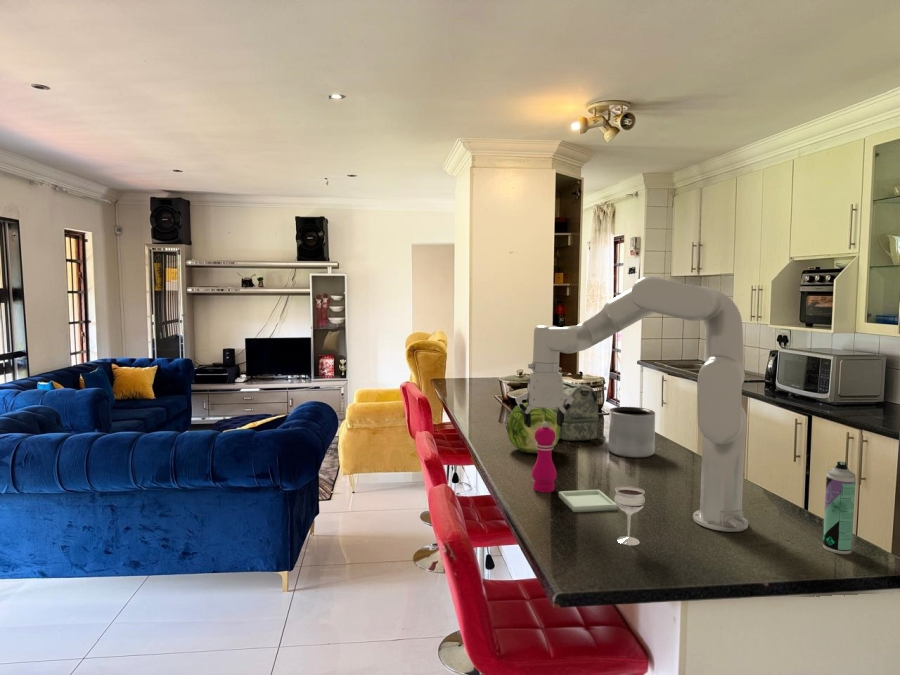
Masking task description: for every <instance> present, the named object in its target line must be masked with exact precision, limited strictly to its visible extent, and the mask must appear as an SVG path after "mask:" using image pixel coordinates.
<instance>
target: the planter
mask: <svg viewBox="0 0 900 675" xmlns="http://www.w3.org/2000/svg"><path fill="white" fill-rule="evenodd" d="M608 414H609V415H608V416H609V418H608V419H609V420H608V421H609V423H608V439H607V440H608V441H607V442H608V443H607V445H608V446H607V447H608V451H609V452H610V453H611V454H614V455H616V456H618V457H619V456H620V457H624V458H632V459H641V458H642V459H643V458H648V457H651V456H653V455H654V454H655V447H656V446H655V445H656V444H655V440H656V439H655V434H656V433H655V432H656V430H655V429H656V427H655V426H656V412H655V411H654V410H652V409H650V408H649V409H648V408H644V407H637V406H636V407H635V406H616V407H611V408H610V409H609V413H608Z"/></svg>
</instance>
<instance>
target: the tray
mask: <svg viewBox="0 0 900 675" xmlns="http://www.w3.org/2000/svg"><path fill="white" fill-rule="evenodd" d="M558 498H559V499H560V500H561V501H562V502H563V503H564V504H565V505H566V506H567V507H568V508H569V509H570V510H571V511H572V512H573V513H583V512H585V513H586V512H588V513H589V512H603V511H617V510H618V506H617V505H616V503H615V501H613V500H612V499H611V498H610V497H608V496H607V495H606V494H605V493H604V492H602V491H601V490H600V489H587V490H586V489H585V490H565V491H558Z"/></svg>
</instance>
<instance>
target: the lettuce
mask: <svg viewBox="0 0 900 675" xmlns="http://www.w3.org/2000/svg"><path fill="white" fill-rule="evenodd" d="M522 403H523V405H524V406H526V404H527V402H522ZM530 414H531V426H530V427H527V426H526V425H525V424H524V412H523V410H522V409H521V408H520V407H519V406H518V404H517V405H515V406H514V408H513V409H512V410H511V412H510V413H509V417H508V420H507V424H506V425H507V427H506V431H507V432H506V433H507V436H508V439H509V441H510V443H511V444H512V445H513V446H514V447H515V448H516V449H518V451H519V452H522V453H526V454H527V453H528V454H538V449H537V448H536V446H537V445H536V443H537V441H536V440H535V432H536V430H537V429H538V428H541V427H542V423H543V422H547V423H548V427H549V428H551V429H552V430H553V431H554V432H555V440H554V441H553V443H552V444H553V448H554V447H555V446H556V445H557V444H558V441H559V440H560V436H561V427H560V426H558V425H557V416H556V414H555V412H554V411H553V410H551V409H550V408H534V407H533V409H532V410H531V411H530Z"/></svg>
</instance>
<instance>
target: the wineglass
mask: <svg viewBox="0 0 900 675" xmlns="http://www.w3.org/2000/svg"><path fill="white" fill-rule="evenodd" d="M614 490H615V492H616V493H615V494H614V502H615V503H616V505H617V508H618V509H619V510H621V511H623V512H624V513H625V514H626V516H627V536H619V537H618V538H617V540H616V541H617V542H618V543H620V544H622V545H625V546H637V545H639V544H640V541H639V539H638V538H635V537H633V536H630V533H631V532H630V531H631V520H632V519H631V518H632V515H633V514H636V513H638V512H639V511H640V510H642V509H643V508H644V506H645V502H646V499H645V496H644V495H645V493H646V492H645V490H644V489H643V488H641V487H637V486H631V485H620V486H616V487H614Z"/></svg>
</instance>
